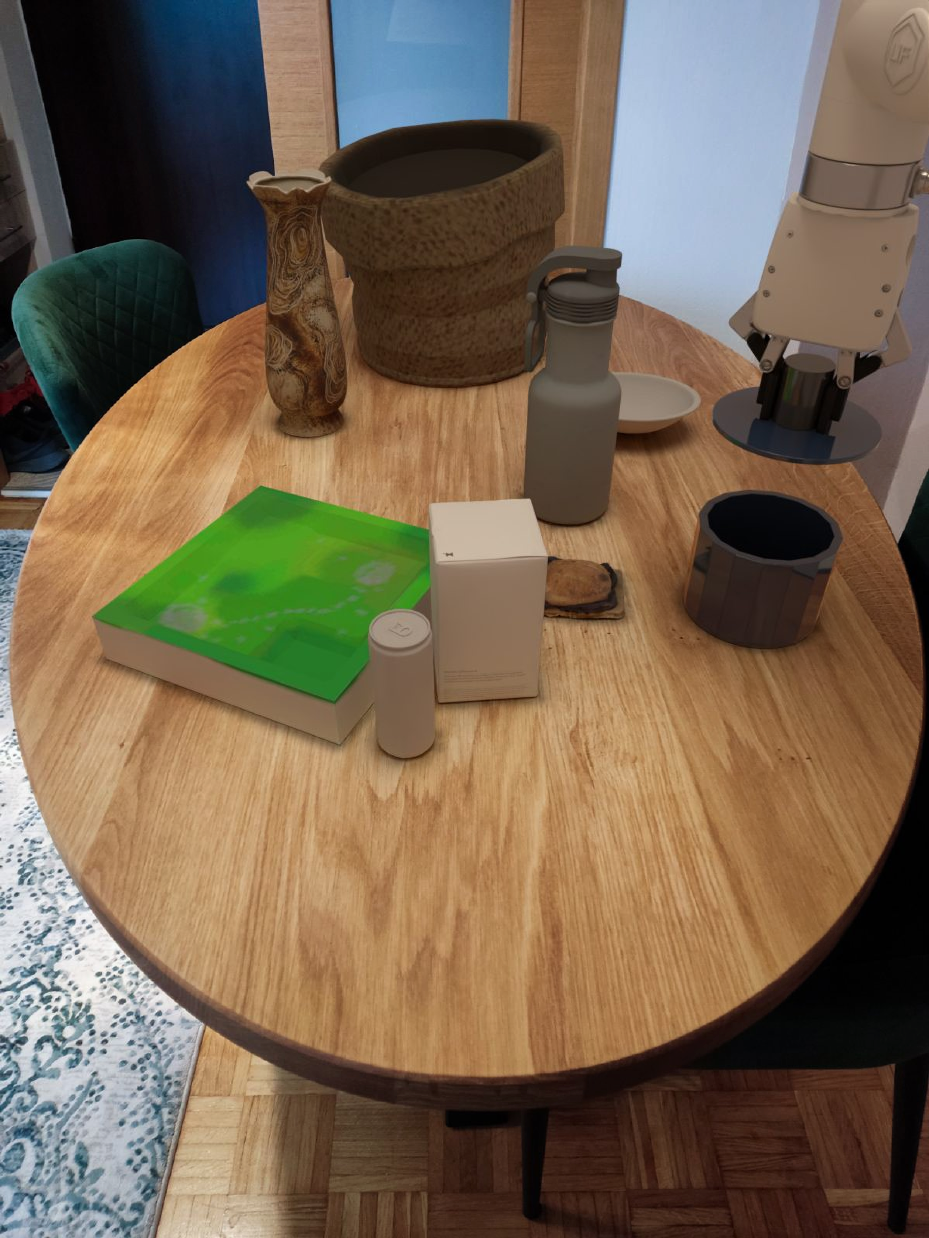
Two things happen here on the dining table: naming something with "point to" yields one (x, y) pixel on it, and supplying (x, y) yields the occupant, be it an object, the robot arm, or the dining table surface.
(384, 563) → the flat green box
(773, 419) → the lid
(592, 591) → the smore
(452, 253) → the pot
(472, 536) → the white product box
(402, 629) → the beverage can
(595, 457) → the water bottle
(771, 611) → the enamel pot
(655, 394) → the dish
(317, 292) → the vase
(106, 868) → the dining table surface
